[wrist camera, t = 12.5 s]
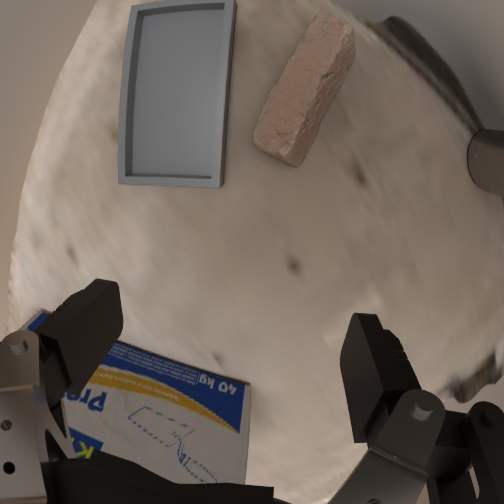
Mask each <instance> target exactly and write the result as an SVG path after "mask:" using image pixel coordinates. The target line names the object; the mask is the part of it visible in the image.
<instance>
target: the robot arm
mask: <svg viewBox="0 0 504 504" xmlns="http://www.w3.org/2000/svg"><path fill="white" fill-rule="evenodd" d="M468 165H469V170H470V173H471V176H472V178H473V180H474V181H475V183H476V184H477V185H478V186H479V187H480V188H482V189H483V190H486V191H489V192H491V193H494V194H496V195H499V196H501V197H503V198H504V131H502V130H490V129H485V130H481V131H480V132H478V133H477V134H476V135H475V136H474V138H473V139H472V141H471V144H470V147H469V152H468ZM122 329H123V314H122V307H121V299H120V291H119V286H118V284H117V282H115V281H109V280H103V279H95V280H94V281H93V282H92V283H91V284H89V285H88V286H87V287H86V288H85V289H83V290H81V291H79V292H77V293H75V294H73V295H71V296H70V297H69V298H67V299H66V300H65V301H64V302H63V305H60V306H59V307H58V308H57V309H56V311H54V312H52V313H51V314H50V315H49V316H48V317H47V318H46V319H45V320H44V321H43V322H42V323H41V324H40V325H39V326H38V327H37V328H36V329H35V330H34V331H33V332H32V331H29V330H19V331H15V332H13V333H10V334H9V335H7V336H6V337H5V338H4V339H3V340H2V342H0V504H291V503H288V502H285V501H283V500H280V499H276V498H273V494H274V487H266V486H254V485H244V484H236V483H228V482H224V483H201V484H179V483H174V482H172V481H170V480H168V479H165V478H163V477H161V476H159V475H158V474H156V473H154V472H152V471H150V470H148V469H146V468H144V467H142V466H141V465H139V464H137V463H135V462H133V461H130V460H126V459H123V458H120V457H117V456H114V455H111V454H109V453H106V452H103V451H100V450H98V449H95V450H94V452H93V454H92V456H91V458H77V456H76V454H75V451H74V448H73V445H72V441H71V436H70V432H69V427H68V422H67V416H66V411H65V405H64V401H63V399H62V397H63V395H64V394H65V392H66V393H69V394H71V395H74V396H77V397H79V395H80V393H81V392H82V390H83V389H84V387H85V386H86V384H87V383H88V381H89V380H90V378H91V377H92V375H93V374H94V372H95V371H96V369H97V368H98V367H99V365H100V364H101V362H102V361H103V359H104V358H105V356H106V355H107V353H108V352H109V351H110V349H111V348H112V346H113V345H114V343H115V342H116V341H117V339H118V338H119V336H120V335H121V332H122ZM340 369H341V373H342V378H343V383H344V388H345V394H346V399H347V404H348V409H349V415H350V420H351V426H352V432H353V438H354V443H367V445H368V450H367V452H366V453H365V455H364V456H363V458H362V459H361V460H360V462H359V463H358V465H357V466H356V467H355V469H354V470H353V472H352V473H351V474H350V476H349V477H348V478H347V480H346V481H345V482H344V483H343V485H342V486H341V487H340V489H339V490H338V491H337V492H336V494H335V495H334V496H333V497H332V498H331V500H330V501H329V502H328V503H327V504H416V502H417V500H418V498H419V496H420V494H421V492H422V490H423V488H424V485H425V483H426V484H427V489H428V495H429V501H430V504H504V413H503V411H502V410H501V409H500V408H499V407H498V406H496V405H495V404H493V403H490V402H486V401H481V402H478V403H475V404H474V405H473V406H472V408H471V409H470V410H469V412H468V413H467V414H466V413H460V412H454V411H448V410H445V407H444V405H443V403H442V401H441V400H440V399H439V398H438V397H437V396H436V395H434V394H432V393H431V392H428V391H425V390H422V388H421V386H420V384H419V382H418V379H417V377H416V375H415V373H414V371H413V368H412V366H411V364H410V362H409V360H408V358H407V355H406V353H405V352H404V349H403V347H402V345H401V343H400V341H399V339H398V338H397V337H396V336H395V335H394V334H393V333H392V332H391V331H390V330H385V329H383V327H382V325H381V323H380V321H379V319H378V316H377V315H376V314H365V313H354V314H353V315H352V317H351V320H350V324H349V327H348V330H347V334H346V337H345V340H344V343H343V346H342V350H341V354H340ZM472 467H473V468H474V471H475V475H476V478H477V481H478V485H479V489H480V490H479V497H478V499H477V498H476V494H475V490H474V487H473V483H472V480H471V476H470V472H469V470H470V469H471V468H472Z"/></svg>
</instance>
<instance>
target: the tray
mask: <svg viewBox="0 0 504 504" xmlns="http://www.w3.org/2000/svg"><path fill="white" fill-rule="evenodd" d="M236 10H237V3H236V0H165V1H158V2H151V3H145V4H139V5H133V6H131V12H130V18H129V24H128V30H127V37H126V44H125V52H124V60H123V69H122V80H121V92H120V107H119V128H118V184H125V185H163V186H187V187H206V188H220V187H221V186H222V185H223V183H224V165H225V147H226V131H227V116H228V102H229V89H230V76H231V64H232V52H233V41H234V30H235V20H236Z"/></svg>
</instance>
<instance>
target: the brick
mask: <svg viewBox="0 0 504 504" xmlns="http://www.w3.org/2000/svg"><path fill="white" fill-rule="evenodd" d="M355 43H356V42H355V36H354V28H353V26H351V25H349V24H348V23H345V22H341V21H340V20H339V19H336V18H334V17H331V16H328V15H325V14H323V13H318V14H317V15H316V17H315V18H314V19H313V21H312V22H311V23H310V25H309V27H308V29H307V31H306V32H305V34H304V36H303V39H301V40H300V42H299V44H298V46H297V47H296V49H295V51H294V52H293V54H292V56H291V57H290V58H289V60H288V62H287V65H286V66H285V68H284V70H283V73H282V74H281V75H280V78H279V79H278V81H277V82H276V84H275V85H274V87H273V88H272V89H271V91H270V94H269V96H268V99H267V101H266V103H265V105H264V107H263V109H262V111H261V114H260V118H259V119H258V121H257V125H256V128H255V130H254V133H253V144H254V146H255V147H256V148H258V149H259V150H261V151H263V152H264V153H267V154H268V155H270V156H272V157H274V158H276V159H278V160H280V161H282V162H284V163H286V164H288V165H291V166H294V167H299V166H300V164H301V162H302V160H303V159H304V157H305V155H306V153H307V151H308V149H309V148H310V146H311V144H312V143H313V139H314V137H315V135H316V134H317V131H318V127H319V124H320V121H321V118H322V117H323V116H324V114H325V112H326V110H327V109H328V107H329V105H330V103H331V101H332V99H333V97H334V96H335V95H336V94H337V92H338V90H339V88H340V86H341V85H342V83H343V79H344V76H345V75H346V74H347V72H348V68H349V67H350V65H351V64H352V62H353V60H354V57H355V53H356V51H355V50H356V48H355Z"/></svg>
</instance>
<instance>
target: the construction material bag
mask: <svg viewBox="0 0 504 504" xmlns="http://www.w3.org/2000/svg"><path fill="white" fill-rule="evenodd" d="M48 316H49V315H47V314H45V313H43V312H41V311H38V312H37V313H36V314H35V315H34V316H33V317H32V318H30V319H29V320H28V321H27V322H26V323H25V324H24V325H23V326H22V327H21V328H20V329H18V330H17V331H19V330H29V331H32V332H33V331H34V330H35V329H36V328H37V327H38V326H39V325H40V324H41V323H42V322H43V321H44V320H45V319H46V318H47V317H48ZM62 399H63V401H64V405H65V411H66V416H67V422H68V427H69V432H70V436H71V441H72V445H73V448H74V451H75V454H76V456H77V458H91V456H92V454H93V452H94V450H95V449H98V450H100V451H103V452H106V453H109V454H111V455H114V456H117V457H120V458H123V459H126V460H130V461H133V462H135V463H137V464H139V465H141V466H142V467H144V468H146V469H148V470H150V471H152V472H154V473H156V474H158V475H159V476H161V477H163V478H165V479H168V480H170V481H172V482H174V483H179V484H201V483H224V482H228V483H236V484H244V485H245V480H246V470H247V459H248V447H249V431H250V409H251V391H250V386H249V385H245V384H241V383H238V382H235V381H231V380H228V379H225V378H222V377H218V376H215V375H212V374H209V373H206V372H203V371H200V370H197V369H194V368H191V367H188V366H185V365H182V364H179V363H177V362H174V361H171V360H168V359H165V358H162V357H160V356H157V355H154V354H151V353H148V352H146V351H143V350H140V349H137V348H135V347H132V346H129V345H126V344H124V343H121V342H118V341H116V342H115V343H114V345H113V346H112V348H111V349H110V351H109V352H108V353H107V355H106V356H105V358H104V359H103V361H102V362H101V364H100V365H99V367H98V368H97V369H96V371H95V372H94V374H93V375H92V377H91V378H90V380H89V381H88V383H87V384H86V386H85V387H84V389H83V390H82V392H81V393H80V395H79V397H77V396H74V395H71V394H69V393H66V392H65V394H64V395H63V397H62Z"/></svg>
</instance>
